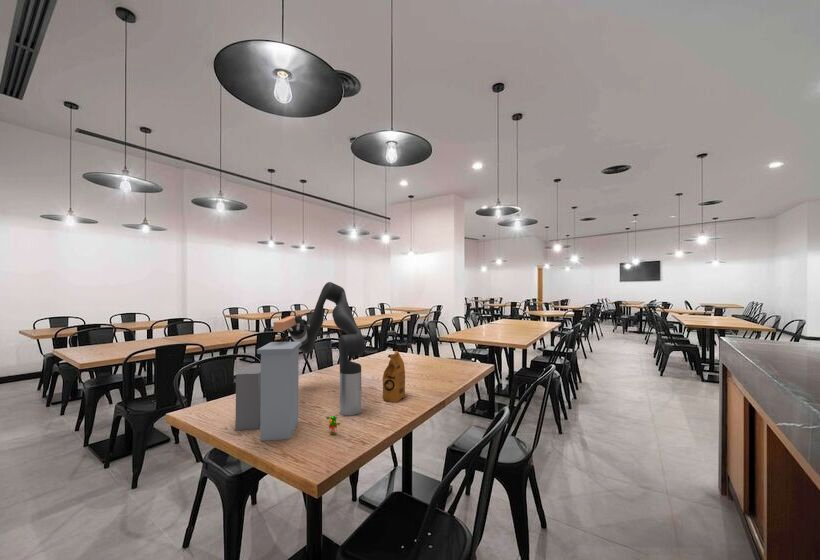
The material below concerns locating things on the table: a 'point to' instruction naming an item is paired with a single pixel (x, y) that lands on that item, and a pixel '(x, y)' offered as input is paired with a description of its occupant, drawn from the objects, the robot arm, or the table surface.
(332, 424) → the toy character
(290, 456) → the table surface
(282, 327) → the bar
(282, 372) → the pedestal
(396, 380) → the coffee package
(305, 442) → the table surface
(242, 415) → the shelf
